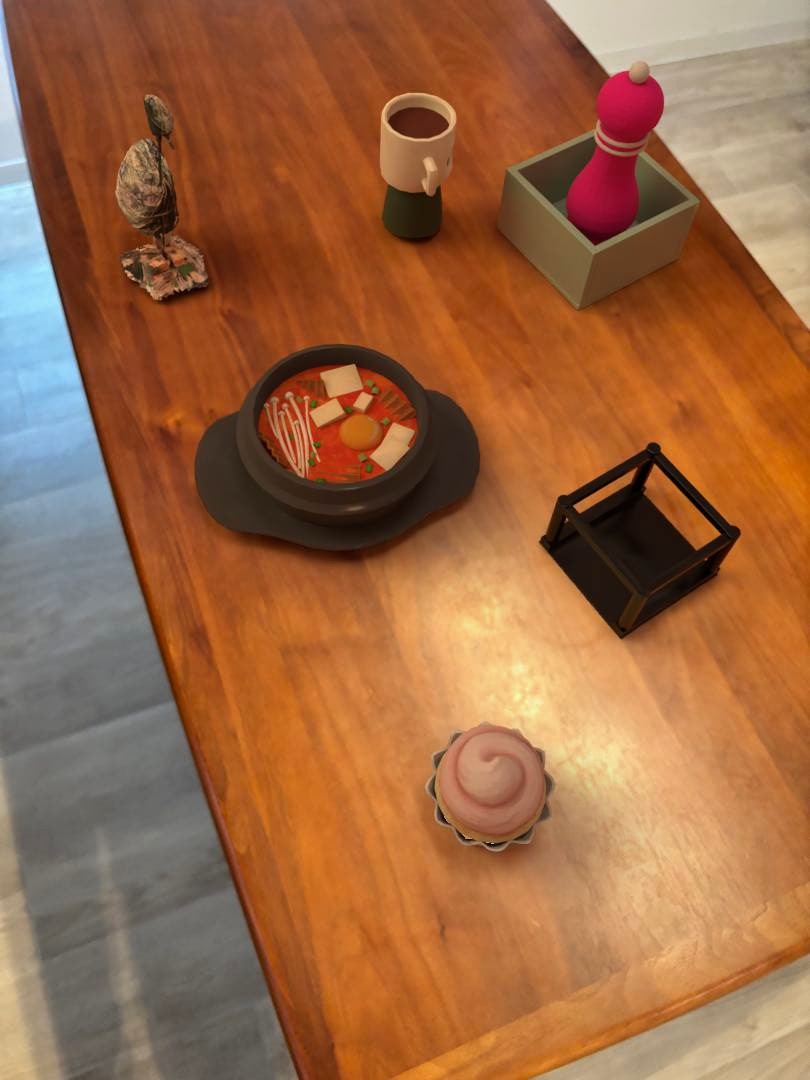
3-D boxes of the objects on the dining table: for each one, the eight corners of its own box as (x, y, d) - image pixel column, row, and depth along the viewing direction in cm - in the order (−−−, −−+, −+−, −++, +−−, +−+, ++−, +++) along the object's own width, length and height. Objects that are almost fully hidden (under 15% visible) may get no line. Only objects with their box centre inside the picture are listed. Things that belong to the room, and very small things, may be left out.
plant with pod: (191, 216, 104) (159, 37, 87) (215, 295, 99) (186, 121, 82) (112, 231, 103) (63, 52, 85) (133, 312, 97) (85, 138, 80)
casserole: (208, 583, 83) (194, 532, 76) (187, 405, 92) (173, 344, 85) (499, 538, 87) (513, 485, 79) (452, 371, 96) (461, 309, 88)
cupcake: (537, 740, 78) (560, 693, 69) (551, 864, 73) (578, 830, 65) (417, 743, 77) (425, 697, 69) (423, 868, 73) (433, 835, 64)
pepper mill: (630, 264, 103) (688, 92, 85) (560, 261, 103) (603, 87, 85) (624, 214, 106) (678, 39, 89) (556, 211, 106) (597, 35, 89)
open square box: (595, 181, 110) (611, 121, 103) (678, 258, 104) (701, 201, 98) (496, 227, 105) (505, 168, 99) (577, 311, 100) (593, 254, 94)
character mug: (459, 254, 103) (473, 148, 92) (393, 266, 102) (398, 160, 91) (429, 182, 108) (438, 74, 97) (365, 192, 107) (367, 84, 96)
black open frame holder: (633, 486, 91) (654, 438, 84) (716, 577, 86) (746, 533, 80) (537, 544, 87) (552, 498, 81) (619, 641, 83) (642, 601, 76)
